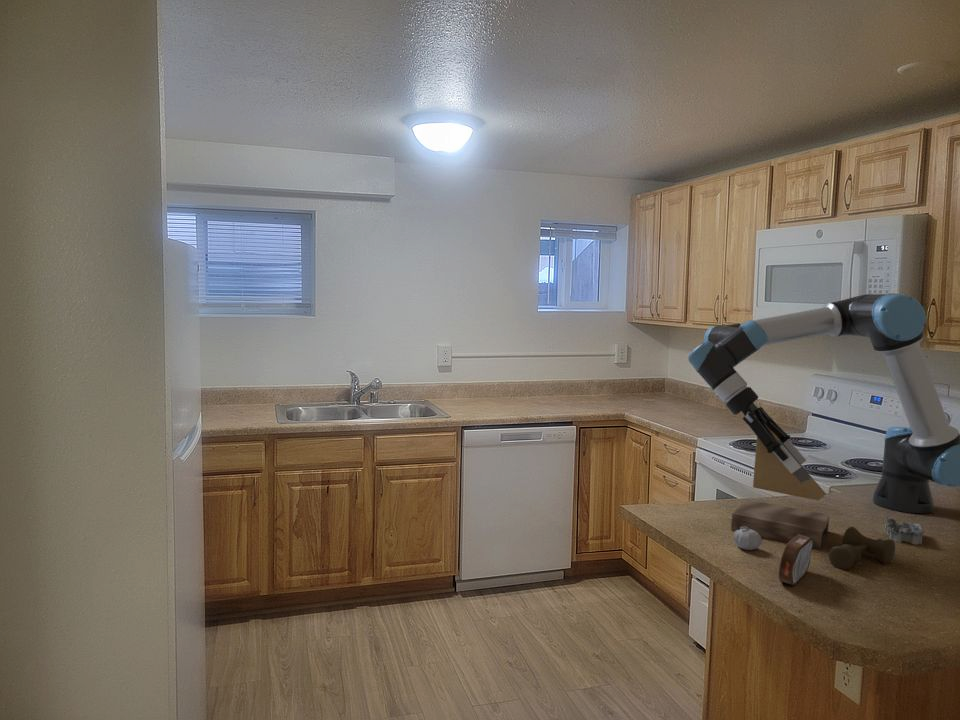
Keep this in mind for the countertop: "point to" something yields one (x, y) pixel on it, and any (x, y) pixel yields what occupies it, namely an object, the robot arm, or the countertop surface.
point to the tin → (795, 559)
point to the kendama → (860, 549)
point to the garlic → (747, 538)
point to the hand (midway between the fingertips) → (799, 466)
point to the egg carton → (904, 531)
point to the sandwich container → (782, 475)
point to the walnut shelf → (780, 521)
